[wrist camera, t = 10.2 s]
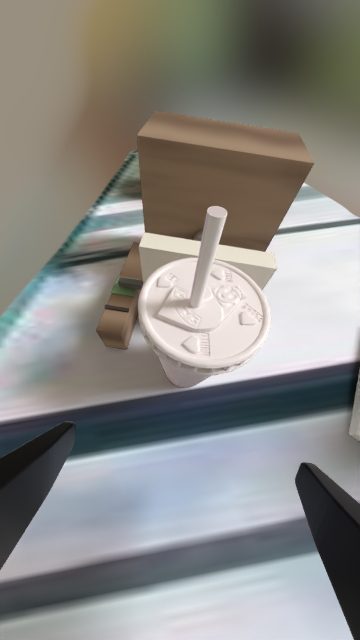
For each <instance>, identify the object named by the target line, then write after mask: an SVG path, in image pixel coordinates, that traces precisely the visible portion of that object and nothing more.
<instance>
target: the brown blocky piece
mask: <svg viewBox="0 0 360 640" xmlns="http://www.w3.org/2000/svg"><path fill="white" fill-rule="evenodd" d="M137 144H138V156H139V167H140V179H141V191H142V203H143V214H144V226H145V232H146V233H152V234H158V235H164V236H170V237H176V238H183V239H189V240H195V241H201V240H202V235H203V230H204V225H205V220H206V215H207V210H208V208H209V207H212V206H219V207H222V208H224V209H225V210H226V211H227V217H226V220H225V224H224V227H223V231H222V234H221V238H220V241H219V245H226V246H232V247H238V248H244V249H250V250H256V251H262V252H265V251H266V249H267V247H268V246H269V244H270V242H271V240H272V238H273V237H274V235H275V233H276V231H277V229H278V228H279V226H280V224H281V222H282V220H283V219H284V217H285V215H286V213H287V211H288V210H289V208H290V206H291V204H292V202H293V201H294V199H295V197H296V195H297V193H298V192H299V190H300V188H301V186H302V184H303V183H304V181H305V179H306V177H307V175H308V174H309V172H310V170H311V168H312V166H313V165H314V162H313V160H312V158H311V156H310V154H309V152H308V150H307V148H306V147H305V145H304V143H303V141H302V139H301V137H300V135H299V133H295V132H288V131H282V130H276V129H269V128H263V127H257V126H250V125H244V124H237V123H230V122H224V121H218V120H212V119H205V118H199V117H192V116H186V115H180V114H173V113H167V112H160V111H155V112H154V114H153V115H152V116H151V118H150V119H149V120H148V121H147V123H146V124H145V125H144V127H143V128H142V129H141V130H140V132H139V133H138V134H137ZM139 244H140V243H135V242H134V243H133V245H132V248H131V250H130V252H129V255H128V257H127V259H126V262H125V264H124V266H123V269H122V271H121V273H120V276H118V278H117V280H116V282H115V285H114V287H113V289H112V292H111V293H112V294H111V296H110V299H109V301H108V303H107V305H105V310H104V313H103V315H102V317H101V320H100V322H99V324H98V327H97V329H96V331H97V333H98V334H99V336H100V338H101V339H102V341H103V342H104V344H105V346H110V347H116V348H122V349H127V348H128V344H129V341H130V338H131V335H132V332H133V328H134V325H135V322H136V319H137V316H138V299H139V295H140V292H141V290H138V289H131V288H125V287H119V284H118V280H119V278H120V277H125V278H131V279H137V280H143V277H142V269H141V261H140V253H139Z"/></svg>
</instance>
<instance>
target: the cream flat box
mask: <svg viewBox="0 0 360 640" xmlns="http://www.w3.org/2000/svg"><path fill="white" fill-rule="evenodd" d="M200 245H201V241H195V240H189V239H183V238H176V237H170V236H164V235H158V234H152V233H146V232H144V234H143V237H142V239H141V242H140V244H139V253H140V261H141V269H142V277H143V280H137V279H131V278H125V277H120V278H119V280H118V284H119V287H125V288H131V289H138V290H141V289H142V287H143V285H144V283H145V282H146V280H147V279H148V278H149V276H150V275H151V274H152V273H153V272H155V271H156V270H157V269H159V268H160V267H162V266H164V265H166V264H168V263H170V262H173V261H176V260H180V259H185V258H198V255H199V250H200ZM214 260H218V261H222V262H225V263H227V264H229V265H232V266H234V267H236V268H237V269H239V270H241V271H242V272H244V273H245V274H246V275H248V276H249V277H250V278H251V279H252V280H253V281H254V282H255V283H256V284H257V285H258V286H259V288H260V289H261V291H262V290H263V289H264V287H265V286H266V284H267V283H268V281H269V280H270V278H271V277H272V275H273V274H274V272H275V271H276V269H277V267H276V261H275V254H274V253H269V252H262V251H256V250H250V249H244V248H238V247H232V246H226V245H219V244H218V248H217V251H216V255H215V258H214Z"/></svg>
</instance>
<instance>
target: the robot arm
mask: <svg viewBox="0 0 360 640" xmlns="http://www.w3.org/2000/svg"><path fill="white" fill-rule="evenodd" d="M75 430H76V425H75V423H73V422H68V421H64V422H62V423H60V424H59V425H57V426H55V427H53V428H52V429H50V430H48V431H46V432H45V433H43V434H41V435H39V436H38V437H36V438H34V439H32V440H31V441H29V442H27V443H25V444H24V445H22V446H20V447H18V448H17V449H15V450H13V451H11V452H10V453H8V454H6V455H4V456H3V457H1V458H0V570H1V568H2V567H3V565H4V563H5V562H6V560H7V559H8V557H9V555H10V554H11V552H12V551H13V549H14V547H15V546H16V544H17V543H18V541H19V539H20V538H21V536H22V535H23V533H24V532H25V530H26V528H27V527H28V525H29V524H30V522H31V520H32V519H33V517H34V516H35V514H36V512H37V511H38V509H39V508H40V506H41V504H42V503H43V501H44V500H45V498H46V496H47V495H48V493H49V491H50V489H51V488H52V486H53V484H54V482H55V480H56V478H57V476H58V474H59V472H60V470H61V469H62V467H63V465H64V463H65V461H66V459H67V457H68V455H69V453H70V451H71V449H72V447H73V445H74V442H75ZM295 483H296V487H297V490H298V494H299V497H300V500H301V503H302V506H303V509H304V512H305V515H306V518H307V521H308V524H309V527H310V530H311V533H312V536H313V539H314V542H315V544H316V547H317V549H318V552H319V554H320V557H321V559H322V562H323V564H324V567H325V569H326V572H327V574H328V577H329V579H330V581H331V584H332V586H333V589H334V591H335V594H336V596H337V599H338V601H339V604H340V606H341V609H342V611H343V614H344V616H345V619H346V621H347V624H348V626H349V628H350V631H351V633H352V636H353V638H354V640H360V504H359V503H358V502H357V501H356V500H355V499H353V498H352V497H351V496H350V495H349V494H348V493H347V492H345V491H344V490H343V489H342V488H341V487H340V486H338V485H337V484H336V483H335V482H334V481H333V480H332V479H330V478H329V477H328V476H327V475H326V474H325V473H323V472H322V471H321V470H320V469H319V468H318V467H317V466H315V465H314V464H311V463H305V462H302V463H301V464H300V467H299V470H298V472H297V475H296V478H295Z"/></svg>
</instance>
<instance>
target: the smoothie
mask: <svg viewBox="0 0 360 640" xmlns="http://www.w3.org/2000/svg"><path fill="white" fill-rule="evenodd" d="M226 217H227V211H226V210H225V209H224V208H222V207H219V206H212V207H209V208H208V210H207V215H206V220H205V225H204V230H203V235H202V240H201V245H200V250H199V255H198V258H185V259H180V260H176V261H173V262H170V263H168V264H166V265H164V266H162V267H160V268H159V269H157V270H156V271H155V272H153V273H152V274H151V275H150V276H149V278H148V279H147V280H146V282H145V283H144V285H143V287H142V289H141V292H140V295H139V299H138V313H139V315H138V316H139V322H140V329H141V332H142V334H143V336H144V338H145V340H146V342H147V344H148V346H149V347H150V348H151V349H152V350H153V351H154V352H155V353H156V354H157V355H158V356H159V359H160V361H161V364H162V366H163V368H164V371H165V373H166V376H167V377H168V379H169V380H170V381H171V382H172V383H173V384H175V385H176V386H179V387H183V388H188V387H192V386H195V385H197V384H198V383H200V382H202V381H203V380H205V379H207V378H208V377H210V376H212V375H218V374H222V373H226V372H231V371H234V370H235V369H237V368H239V367H241V366H242V365H244V364H246V363H247V362H249V360H250V359H251V358H252V357H253V356H254V355H255V354H256V352H257V351H258V350H259V349H260V348H261V346H262V345H263V344H264V342H265V340H266V338H267V336H268V334H269V330H270V325H271V314H270V309H269V305H268V302H267V300H266V297H265V296H264V294H263V292H262V291H261V289H260V288H259V286H258V285H257V284H256V283H255V282H254V281H253V280H252V279H251V278H250V277H249V276H248V275H246V274H245V273H244V272H242V271H241V270H239V269H237V268H236V267H234V266H232V265H229V264H227V263H225V262H222V261H218V260H214V258H215V255H216V251H217V248H218V244H219V241H220V238H221V234H222V231H223V227H224V224H225V220H226Z"/></svg>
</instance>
